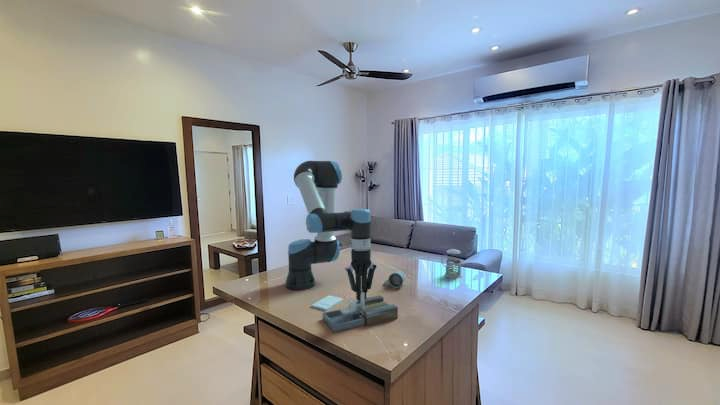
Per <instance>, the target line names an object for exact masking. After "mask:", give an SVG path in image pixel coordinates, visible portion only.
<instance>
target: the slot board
mask: <svg viewBox="0 0 720 405" xmlns="http://www.w3.org/2000/svg"><path fill="white" fill-rule="evenodd" d="M398 309H399V307H398V306H397V305H396V304H388V303H387V301H384V297H383V296H382V295H381V294H378V295H374V296H373V295H372V296H369V297H366V299H365V309H362V313H360V315H361V316H362V317H364V318H365V325H366V326H367V327H369V326H373V325H377V324H380V323H385V322H389V321H393V320H396V319H398V318H399V316H398V315H399V314H398V312H399V310H398Z"/></svg>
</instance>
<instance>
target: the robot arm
mask: <svg viewBox="0 0 720 405" xmlns="http://www.w3.org/2000/svg"><path fill="white" fill-rule="evenodd" d="M293 181H294V185H295V186H296V187H297V188H298V189H299V191H300V195H301V197H302V199H303V202H304V205H305V208H306V211H307V215H306V218H305V226H306V230H307V232H308V233H310V234H316V235H315V236H314V241H311V239H309V238H305V239H304V238H303V239H297V240H294V241H292V242H290V243H289V244H288V248H287V254H288V259H287V260H288V273H287V276H286V280H285V287H286V288H287V289H288V290H293V291H299V290H300V291H302V290H307V289H310V288H311V289H312V287H313V288H314V287H315V285H316V279H315V276H314V273H313V270H312V265H315V264H322V263H323V264H324V263H331V262H335V261H337V260H338V258H339V256H340V253H341V246H340V245H341V244H340V241H339V240H338V239H337V237H336V235H334V233H335V232H342V231H350V232H351V233H350V234H351V235H350V237H351V240H350V241H351V242H350V244H351V246H350V247H351V254H350V255H351V262H350V265H349V266H348V267H345V269H344V270H345V271H346V274H347V277H348V280H349V284H350V289H351V290H352V291H353V292H354V293H356V294H355V295H356V296H355V300H356V299H357V300H358V301H360V302H362V309H365V299H366V298H367V293H368V291H369V290H372V284H373V279H374V274H375V271H376V269H377V264H375V263H372V260H371V257H372V255H371V254H372V252H371V249H370V248H371V232H372V230H371V226H372V225H371V223H372V222H371V220H372V217H371V211H370V209H368V208H353V209H352V210H351V211H350V210H349V211H343V212H335V194H336V193H335V191H336V190H337V189H338V187H339V186H338V185H341V184H342V181H343V174H342V168H341V166H340V164H339V163H338V162H337V161H332V160H331V161H330V160H306V161H303V162H302V163H300V164H298V165H297V167H296V169H295V171H294V174H293ZM353 271H354V273H353ZM354 274H355V276H354Z"/></svg>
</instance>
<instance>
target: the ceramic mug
mask: <svg viewBox="0 0 720 405" xmlns="http://www.w3.org/2000/svg"><path fill="white" fill-rule="evenodd" d="M405 280H406V276H405V273H404V272H403V271H401V270H395V271H393V272H392V273H391V274H390V275H389V276H388V279H386V280H385V281H384V282H383V284H384V285H386V286H387V285H390V287H391V288H394V289H399V288H400V287H402V286H403V284H404V283H405Z"/></svg>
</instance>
